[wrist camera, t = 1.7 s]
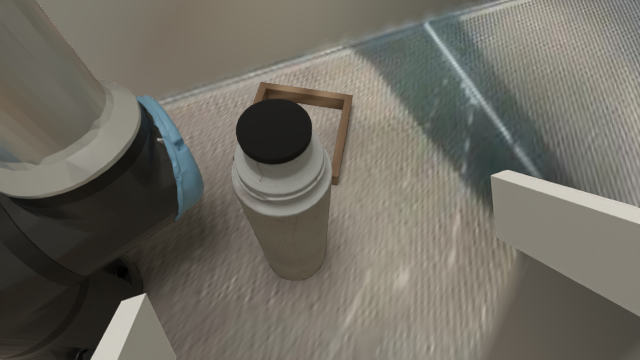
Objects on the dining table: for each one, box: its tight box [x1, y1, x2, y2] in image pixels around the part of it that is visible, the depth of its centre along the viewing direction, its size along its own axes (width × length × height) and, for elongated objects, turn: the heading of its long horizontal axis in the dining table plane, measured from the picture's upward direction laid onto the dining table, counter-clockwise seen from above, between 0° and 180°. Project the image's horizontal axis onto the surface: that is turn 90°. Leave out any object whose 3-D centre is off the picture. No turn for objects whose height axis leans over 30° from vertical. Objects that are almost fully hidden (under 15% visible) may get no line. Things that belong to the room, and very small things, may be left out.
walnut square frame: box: [233, 82, 353, 185], centre depth 54 cm, size 16×16×2 cm
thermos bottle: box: [231, 98, 332, 280], centre depth 34 cm, size 8×8×28 cm
